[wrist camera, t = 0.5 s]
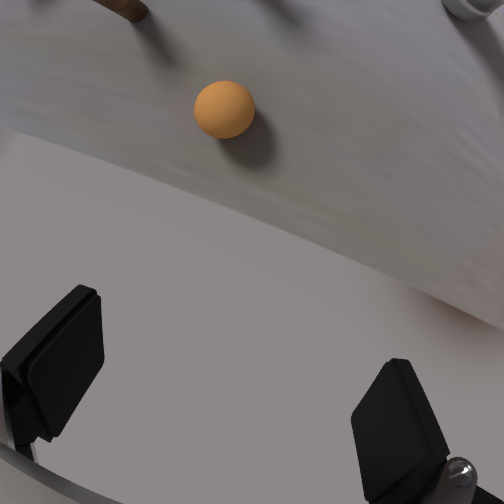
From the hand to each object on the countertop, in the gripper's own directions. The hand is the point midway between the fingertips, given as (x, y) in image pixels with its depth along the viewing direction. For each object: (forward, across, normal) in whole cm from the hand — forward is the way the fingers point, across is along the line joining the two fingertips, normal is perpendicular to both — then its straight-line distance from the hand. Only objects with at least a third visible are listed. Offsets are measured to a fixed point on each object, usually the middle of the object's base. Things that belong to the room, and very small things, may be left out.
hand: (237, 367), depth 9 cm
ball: (+21, +6, -8) cm, 23 cm away
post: (+24, +19, -19) cm, 36 cm away
